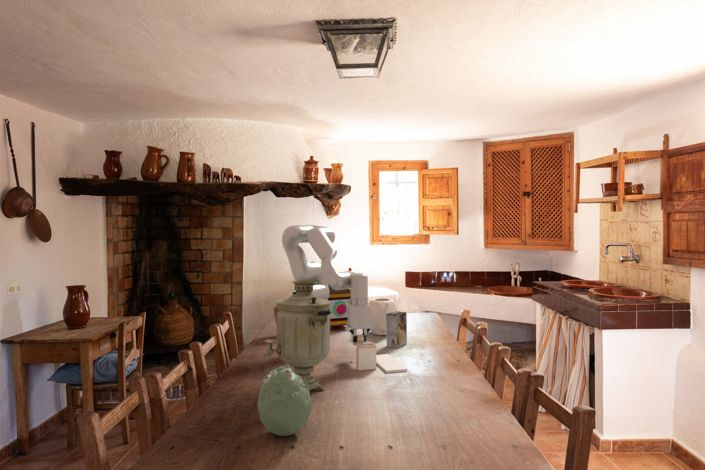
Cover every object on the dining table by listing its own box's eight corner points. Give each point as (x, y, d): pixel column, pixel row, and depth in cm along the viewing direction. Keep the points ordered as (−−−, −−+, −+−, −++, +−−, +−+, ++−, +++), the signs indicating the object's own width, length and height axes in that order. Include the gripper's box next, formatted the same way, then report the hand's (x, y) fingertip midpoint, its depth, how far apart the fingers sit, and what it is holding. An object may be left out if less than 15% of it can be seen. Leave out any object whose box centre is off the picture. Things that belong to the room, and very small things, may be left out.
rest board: (386, 373, 211) (386, 370, 211) (369, 357, 235) (369, 355, 235) (407, 371, 214) (407, 368, 214) (388, 356, 237) (388, 354, 237)
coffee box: (396, 342, 263) (396, 310, 262) (407, 344, 259) (407, 312, 258) (386, 346, 255) (386, 313, 255) (397, 348, 251) (397, 315, 251)
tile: (357, 371, 214) (358, 347, 213) (356, 369, 216) (356, 345, 215) (376, 369, 216) (376, 346, 215) (374, 367, 219) (375, 344, 218)
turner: (347, 342, 233) (346, 333, 233) (362, 341, 235) (361, 332, 235) (358, 346, 216) (357, 336, 216) (374, 345, 218) (373, 335, 218)
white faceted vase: (372, 340, 267) (372, 303, 267) (365, 329, 294) (364, 295, 293) (402, 339, 269) (401, 303, 268) (392, 328, 296) (392, 295, 295)
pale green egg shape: (316, 422, 162) (316, 358, 161) (305, 449, 143) (305, 376, 142) (266, 420, 163) (266, 357, 162) (249, 447, 144) (249, 375, 143)
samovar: (253, 382, 200) (252, 278, 199) (318, 374, 209) (318, 275, 208) (268, 409, 172) (267, 288, 171) (343, 399, 182) (343, 284, 180)
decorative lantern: (312, 326, 303) (312, 274, 302) (343, 322, 311) (343, 272, 310) (325, 332, 285) (325, 278, 284) (358, 329, 293) (358, 276, 292)
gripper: (343, 304, 220) (343, 347, 220) (379, 302, 224) (380, 344, 225) (338, 301, 227) (339, 343, 228) (374, 299, 231) (374, 340, 232)
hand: (359, 343), depth 226 cm, fingers closed on turner, 2 cm apart
